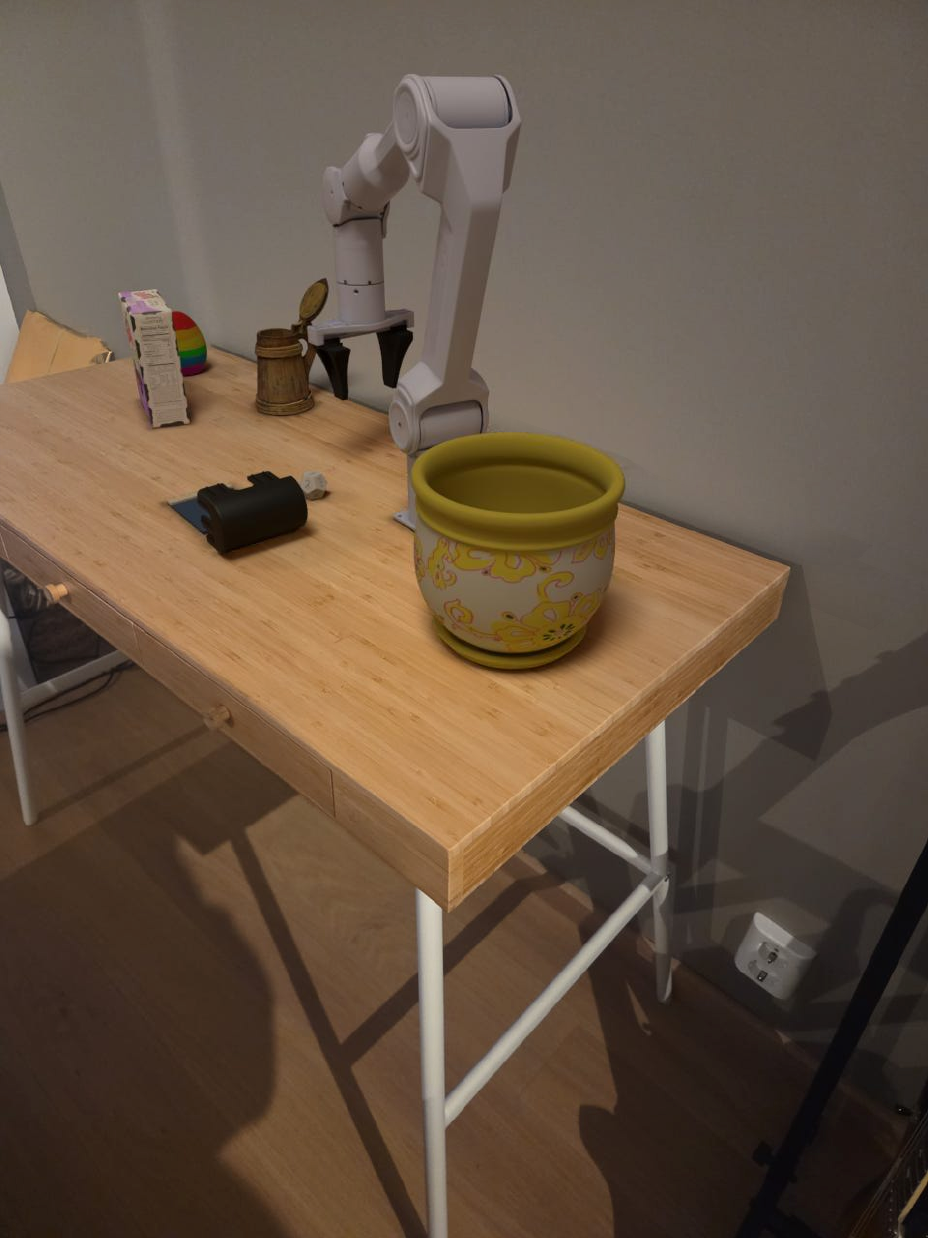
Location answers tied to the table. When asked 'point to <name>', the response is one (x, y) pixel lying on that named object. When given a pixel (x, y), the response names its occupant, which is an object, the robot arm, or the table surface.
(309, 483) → the game die
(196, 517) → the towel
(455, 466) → the flowerpot
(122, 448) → the table surface
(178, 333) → the decorative egg
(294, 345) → the wooden mug
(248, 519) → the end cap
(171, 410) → the candy box
